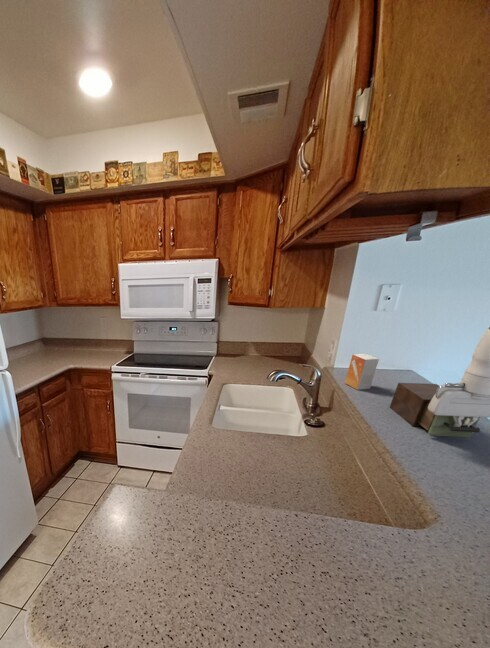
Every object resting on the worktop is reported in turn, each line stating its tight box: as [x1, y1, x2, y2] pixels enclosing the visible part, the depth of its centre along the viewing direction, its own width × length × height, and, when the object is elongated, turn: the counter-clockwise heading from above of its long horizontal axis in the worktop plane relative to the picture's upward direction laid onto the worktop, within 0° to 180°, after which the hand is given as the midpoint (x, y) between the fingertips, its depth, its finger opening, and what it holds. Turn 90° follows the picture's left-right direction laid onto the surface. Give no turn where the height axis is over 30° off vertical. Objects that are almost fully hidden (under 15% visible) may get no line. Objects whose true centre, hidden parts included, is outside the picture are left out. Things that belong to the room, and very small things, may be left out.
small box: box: [344, 353, 380, 391], centre depth 137 cm, size 8×6×13 cm
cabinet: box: [389, 382, 441, 428], centre depth 111 cm, size 16×13×10 cm
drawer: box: [417, 402, 481, 438], centre depth 102 cm, size 19×11×8 cm, turn 174°
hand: (460, 429), depth 96 cm, fingers closed, pressing on drawer
